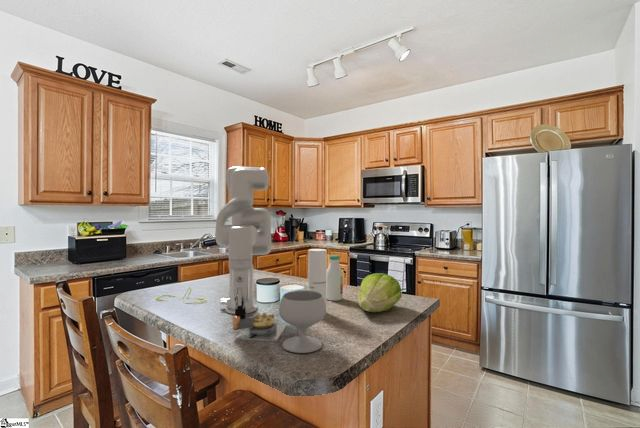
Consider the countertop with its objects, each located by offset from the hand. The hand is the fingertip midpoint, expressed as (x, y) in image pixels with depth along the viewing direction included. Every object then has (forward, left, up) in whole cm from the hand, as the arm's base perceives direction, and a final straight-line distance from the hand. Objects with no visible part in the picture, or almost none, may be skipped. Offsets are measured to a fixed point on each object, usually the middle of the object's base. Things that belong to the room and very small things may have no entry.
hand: (240, 320), depth 105 cm
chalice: (+22, -6, -5) cm, 23 cm away
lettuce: (+45, +32, -5) cm, 55 cm away
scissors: (-41, +36, -5) cm, 55 cm away
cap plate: (+7, +2, -4) cm, 8 cm away
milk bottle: (+27, +47, -5) cm, 54 cm away
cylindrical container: (+22, +25, -5) cm, 33 cm away
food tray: (+4, 0, -2) cm, 5 cm away
